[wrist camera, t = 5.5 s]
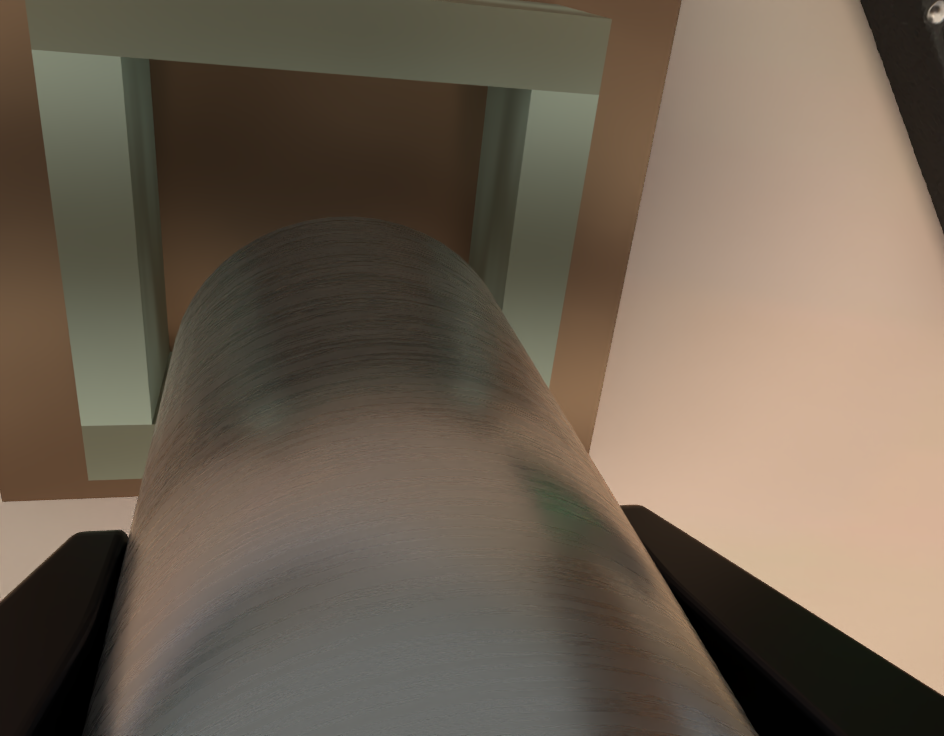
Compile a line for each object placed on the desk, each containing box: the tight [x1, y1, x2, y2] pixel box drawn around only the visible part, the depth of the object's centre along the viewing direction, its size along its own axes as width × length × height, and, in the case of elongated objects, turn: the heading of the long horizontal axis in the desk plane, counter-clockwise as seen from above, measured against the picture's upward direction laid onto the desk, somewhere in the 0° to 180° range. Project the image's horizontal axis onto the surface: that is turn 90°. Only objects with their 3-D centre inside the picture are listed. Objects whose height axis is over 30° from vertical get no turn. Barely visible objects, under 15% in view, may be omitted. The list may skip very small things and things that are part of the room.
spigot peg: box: [82, 217, 759, 736], centre depth 6 cm, size 4×4×10 cm
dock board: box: [0, 0, 681, 502], centre depth 16 cm, size 14×14×4 cm
